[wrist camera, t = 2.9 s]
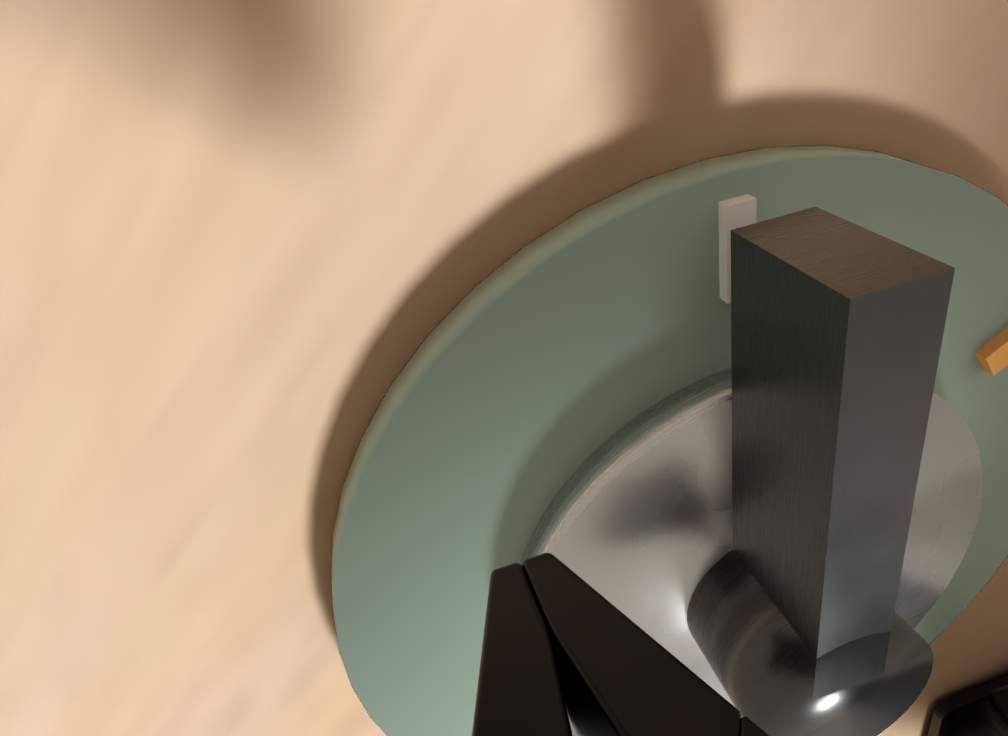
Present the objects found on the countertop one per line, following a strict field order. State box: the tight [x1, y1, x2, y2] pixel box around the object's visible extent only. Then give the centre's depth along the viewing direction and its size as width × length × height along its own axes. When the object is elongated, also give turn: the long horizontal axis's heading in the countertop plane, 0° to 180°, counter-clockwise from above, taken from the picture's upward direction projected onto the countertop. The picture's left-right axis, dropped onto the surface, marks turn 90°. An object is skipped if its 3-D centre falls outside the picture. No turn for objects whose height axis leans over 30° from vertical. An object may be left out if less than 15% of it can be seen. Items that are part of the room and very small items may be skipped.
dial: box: [520, 207, 983, 736], centre depth 15 cm, size 16×12×4 cm
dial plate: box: [331, 145, 1008, 736], centre depth 18 cm, size 20×20×1 cm
